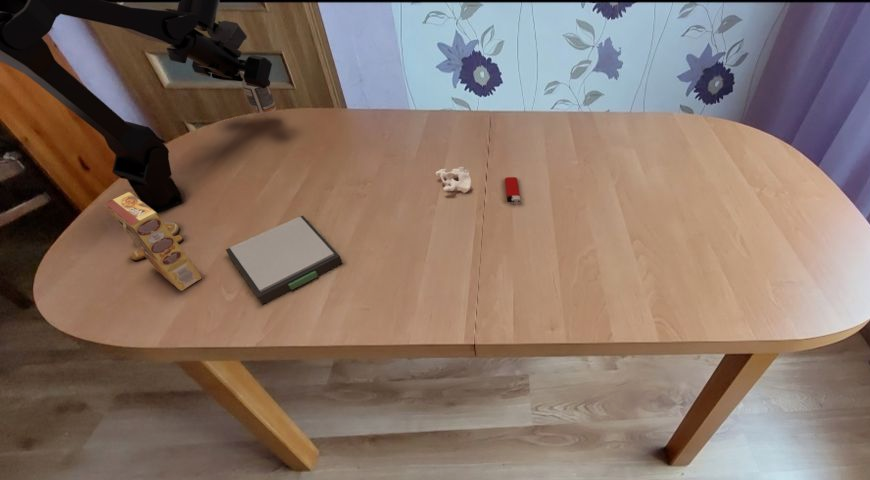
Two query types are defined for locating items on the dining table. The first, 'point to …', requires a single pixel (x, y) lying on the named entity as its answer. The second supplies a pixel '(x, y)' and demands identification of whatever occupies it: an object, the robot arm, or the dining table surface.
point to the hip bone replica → (460, 185)
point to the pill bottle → (259, 98)
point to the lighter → (512, 190)
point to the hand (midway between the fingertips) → (259, 81)
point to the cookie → (174, 230)
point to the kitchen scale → (283, 258)
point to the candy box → (153, 240)
